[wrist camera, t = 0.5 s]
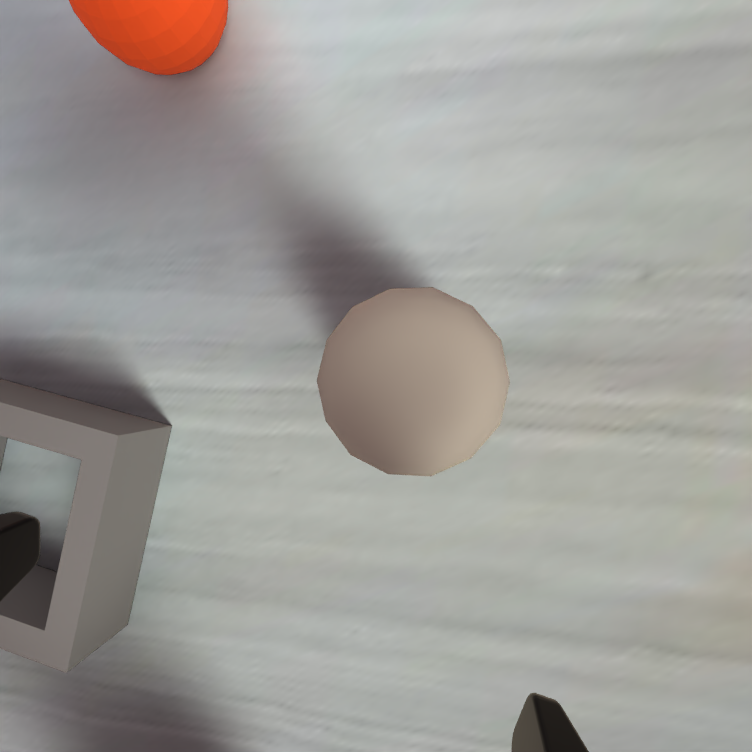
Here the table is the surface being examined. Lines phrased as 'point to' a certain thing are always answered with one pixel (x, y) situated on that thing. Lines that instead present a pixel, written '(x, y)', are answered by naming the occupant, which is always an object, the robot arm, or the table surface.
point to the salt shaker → (413, 381)
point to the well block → (83, 524)
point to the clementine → (156, 31)
